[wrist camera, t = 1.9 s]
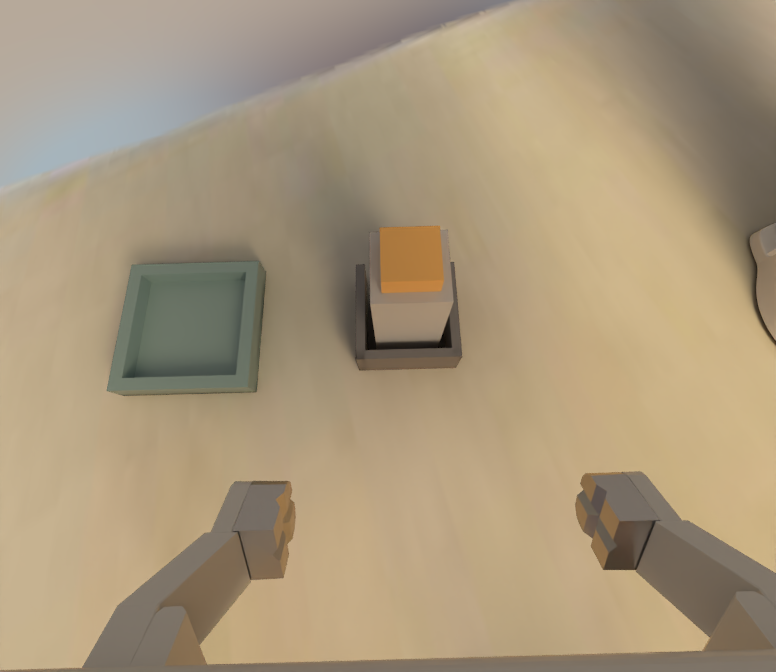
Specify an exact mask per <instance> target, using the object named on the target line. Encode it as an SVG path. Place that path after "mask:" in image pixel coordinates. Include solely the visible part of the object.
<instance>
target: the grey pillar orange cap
mask: <svg viewBox="0 0 776 672" xmlns="http://www.w3.org/2000/svg"><path fill="white" fill-rule="evenodd" d="M369 243H370V306H371V313H372V320H373V327H374V333H375V340H376V347H377V350H390V349H426V348H438V345H439V342H440V339H441V336H442V334H443V331H444V328H445V325H446V322H447V319H448V316H449V314H450V311H451V308H452V305H453V302H454V300H453V288H452V276H451V264H450V252H449V240H448V230H440V226H417V227H384V228H380V232H369Z"/></svg>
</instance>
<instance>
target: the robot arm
mask: <svg viewBox="0 0 776 672" xmlns="http://www.w3.org/2000/svg"><path fill="white" fill-rule="evenodd" d="M750 247H751V250H752V253H753V256H754V258H755V261H756V263H757V269H758V272H757V283H756V295H757V302H758V306H759V310H760V313H761V316H762V318H763V320H764V322H765V324H766V326H767V328H768V330H769V332H770V333H771V335H772V336H773V338H774V339H775V340H776V223H774V224H771V225H769V226H767V227H765V228H763V229H761V230H759V231H757V232H755V233H753V234H752V235H751V237H750ZM580 484H581V486H582V488H583V491H582V492H581V493H579V494H578V495H577V498H576V503H575V507H576V516H577V519H578V522H579V524H580V526H581V528H582V530H583V532H585V533H586V534H587V535H589V536H590V537H591V538H592V543H591V548H592V550H593V551H594V553H595V555H596V557H597V559H598V561H599V563H600V565H601V567H602V569H603V570H636V572H637V573H638V574H639V575H640V576H641V577H643V578H644V579H645V580H646V581H647V582H648V583H649V584H650V585H652V586H653V587H654V588H655V589H656V590H657V591H658V592H659V593H660V594H662V595H663V596H664V597H665V598H666V599H667V600H668V601H669V602H671V603H672V604H673V605H674V606H675V607H676V608H677V609H678V610H680V611H681V612H682V613H683V614H684V615H685V616H686V617H687V618H689V619H690V620H691V621H692V622H693V623H694V624H695V625H696V626H698V627H699V628H700V629H701V630H702V631H703V632H704V633H705V634H706V635H708V636H709V637H710V638H709V640H708V642H707V643H706V645H705V647H704V649H703V650H702V651H684V652H648V653H611V654H575V655H538V656H502V657H467V658H432V659H396V660H360V661H323V662H286V663H249V664H212V665H207V663H206V661H205V658H204V656H203V653H202V651H201V648H200V644H201V643H202V642H203V640H204V639H205V638H206V637H207V635H208V634H209V633H210V632H211V630H212V629H213V628H214V627H215V626H216V624H217V623H218V622H219V621H220V619H221V618H222V617H223V616H224V614H225V613H226V612H227V611H228V610H229V608H230V607H231V606H232V605H233V603H234V602H235V601H236V600H237V598H238V597H239V596H240V595H241V594H242V592H243V591H244V590H245V589H246V587H247V586H248V585H249V584H250V582H251V581H250V580H259V579H277V578H284V574H285V570H286V565H287V561H288V557H289V551H288V545H287V544H288V543H289V542H290V541H291V540H292V539H293V534H294V529H295V519H296V515H295V504H294V502H293V501H292V500H291V499H290V498H291V494H292V487H291V482H289V481H235V482H234V483H233V484H232V485H231V487H230V489H229V492H228V494H227V496H226V498H225V501H224V503H223V505H222V507H221V510H220V512H219V514H218V516H217V519H216V521H215V523H214V526H213V528H212V530H211V532H210V533H204V534H203V535H202V536H200V537H199V538H198V539H197V540H196V541H194V542H193V543H192V544H191V545H190V546H188V547H187V548H186V549H185V550H184V551H183V552H181V553H180V554H179V555H178V556H177V557H175V558H174V559H173V560H172V561H171V562H169V563H168V564H167V565H166V566H165V567H163V568H162V569H161V570H160V571H159V572H157V573H156V574H155V575H154V576H153V577H151V578H150V579H149V580H148V581H147V582H145V583H144V584H143V585H142V586H141V587H140V588H138V589H137V590H136V591H135V592H134V593H132V594H131V595H130V596H129V597H128V598H126V599H125V600H124V601H123V602H122V603H120V604H119V605H118V606H117V608H116V609H115V611H114V613H113V615H112V616H111V618H110V620H109V622H108V623H107V625H106V627H105V629H104V630H103V632H102V634H101V636H100V637H99V639H98V641H97V643H96V644H95V646H94V648H93V650H92V651H91V653H90V655H89V657H88V658H87V660H86V662H85V664H84V665H83V667H82V668H60V669H23V670H0V672H776V573H774V572H773V571H771V570H769V569H768V568H766V567H764V566H763V565H761V564H759V563H758V562H756V561H754V560H753V559H751V558H749V557H748V556H746V555H744V554H743V553H741V552H739V551H738V550H736V549H734V548H733V547H731V546H729V545H728V544H726V543H725V542H723V541H721V540H720V539H718V538H716V537H715V536H713V535H711V534H710V533H708V532H706V531H705V530H703V529H701V528H700V527H698V526H696V525H695V524H693V523H691V522H690V521H682V520H681V518H680V517H679V516H678V515H677V513H676V512H675V511H674V510H673V508H672V507H671V506H670V505H669V503H668V502H667V501H666V500H665V498H664V497H663V496H662V495H661V494H660V492H659V491H658V490H657V489H656V487H655V486H654V485H653V484H652V482H651V481H650V480H649V479H648V477H647V476H646V475H645V474H644V473H642V472H621V473H620V472H610V473H585V474H584V475H583V476H582V479H581V483H580Z"/></svg>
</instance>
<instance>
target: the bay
mask: <svg viewBox="0 0 776 672" xmlns="http://www.w3.org/2000/svg"><path fill="white" fill-rule="evenodd" d="M450 264H451V276H452V288H453V300H454V302H453V305H452V308H451V311H450V314H449V316H448V319H447V322H446V325H445V328H444V332H445V346H446V348H426V349H390V350H368V304H367V278H366V271H365V264H362V265H356V361H357V364H358V367H359V370H390V369H426V368H456V366H457V364H458V363H459V361H460V359H461V358H462V348H461V337H460V325H459V314H458V302H457V291H456V279H455V267H454V262H450Z"/></svg>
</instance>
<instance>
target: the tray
mask: <svg viewBox="0 0 776 672" xmlns="http://www.w3.org/2000/svg"><path fill="white" fill-rule="evenodd" d="M265 280H266V271H265V270H264V268H263V267H262V265H261V264H260V262H259V261H243V262H210V263H176V264H143V265H132V267H131V272H130V277H129V281H128V286H127V291H126V296H125V301H124V306H123V311H122V316H121V321H120V326H119V331H118V336H117V341H116V346H115V351H114V356H113V361H112V366H111V371H110V376H109V381H108V386H107V391H108V392H112V393H116V394H119V395H123V396H133V395H169V394H206V393H242V392H257V380H258V367H259V355H260V342H261V330H262V318H263V305H264V293H265Z"/></svg>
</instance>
